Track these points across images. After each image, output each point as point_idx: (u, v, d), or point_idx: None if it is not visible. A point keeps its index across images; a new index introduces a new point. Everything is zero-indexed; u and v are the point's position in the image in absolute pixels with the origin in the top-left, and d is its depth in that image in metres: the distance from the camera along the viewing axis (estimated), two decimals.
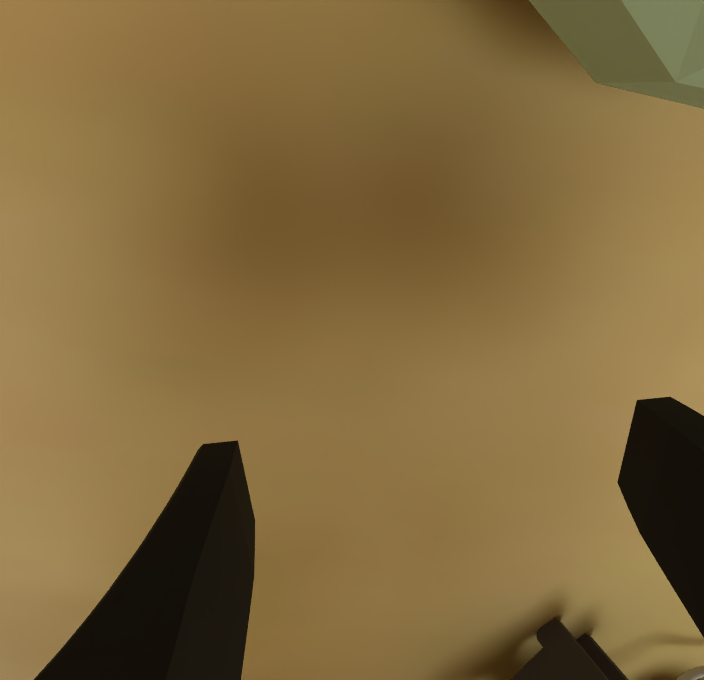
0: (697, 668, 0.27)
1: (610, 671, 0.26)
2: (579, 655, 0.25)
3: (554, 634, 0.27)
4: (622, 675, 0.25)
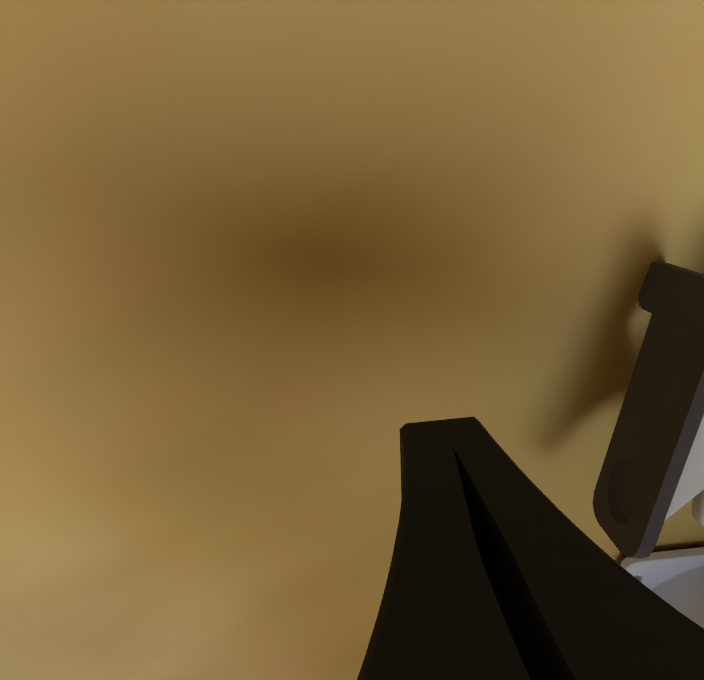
0: None
1: None
2: (701, 288, 0.14)
3: (659, 285, 0.16)
4: None
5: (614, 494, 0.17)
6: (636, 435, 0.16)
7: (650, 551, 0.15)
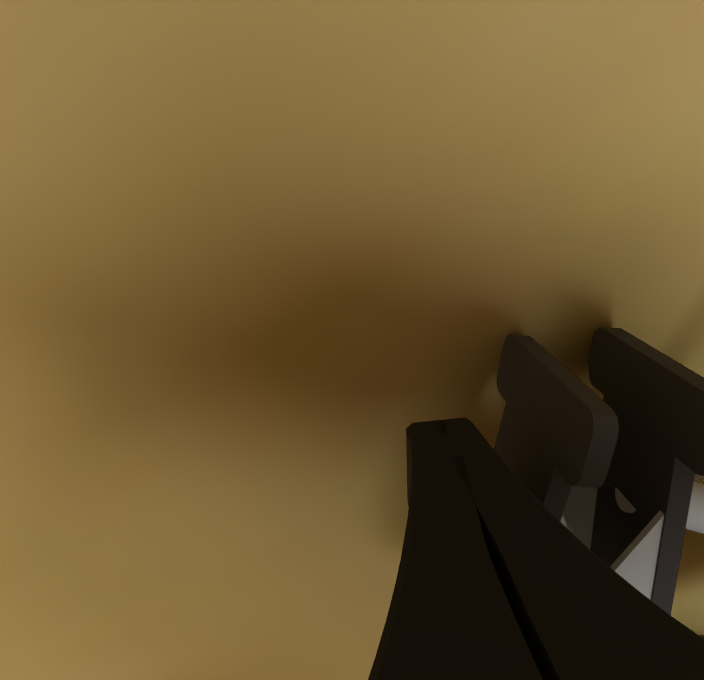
0: None
1: (655, 377, 0.10)
2: (547, 384, 0.10)
3: (514, 366, 0.12)
4: (678, 373, 0.10)
5: None
6: None
7: None
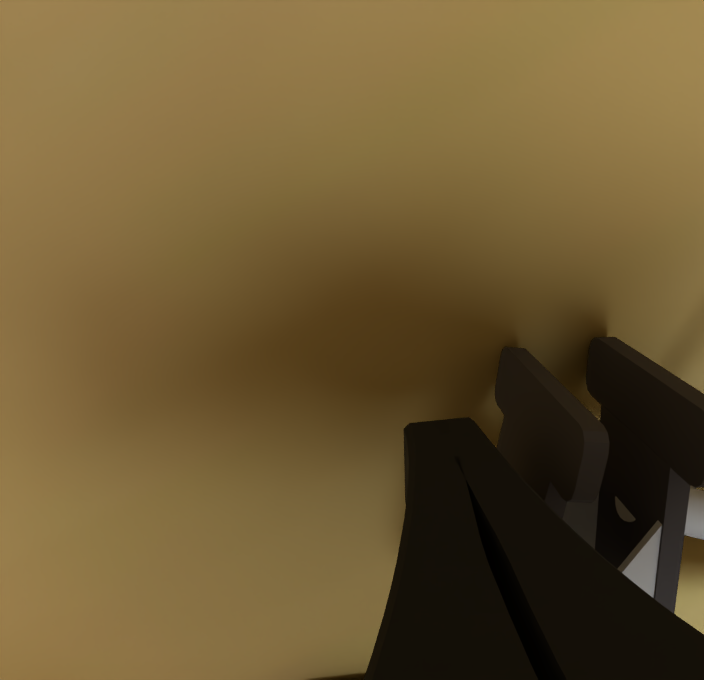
0: None
1: (648, 389, 0.11)
2: (540, 399, 0.10)
3: (510, 379, 0.12)
4: (670, 384, 0.10)
5: None
6: None
7: None
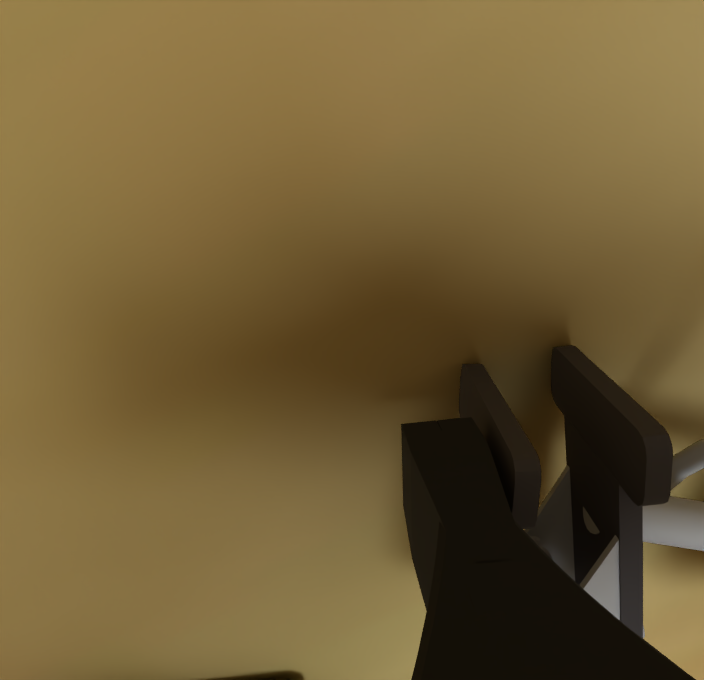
0: None
1: (597, 403, 0.10)
2: (487, 422, 0.10)
3: (467, 398, 0.12)
4: (614, 400, 0.10)
5: None
6: None
7: None
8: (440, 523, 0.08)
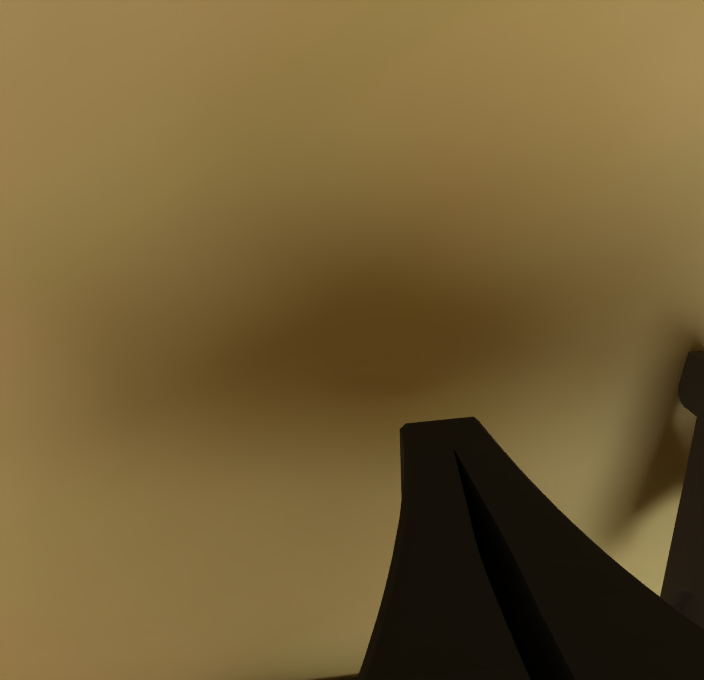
0: None
1: None
2: None
3: (701, 383, 0.13)
4: None
5: None
6: (697, 567, 0.13)
7: None
8: (398, 528, 0.08)
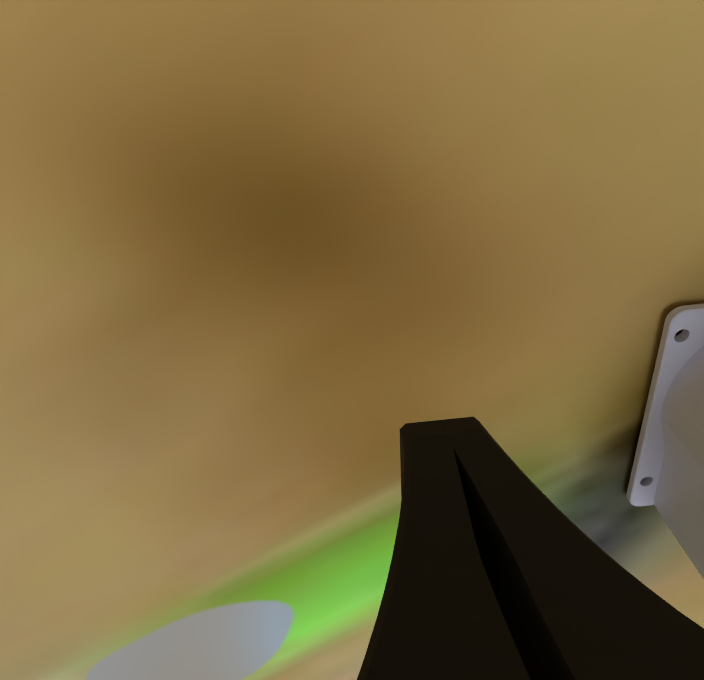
0: None
1: None
2: None
3: None
4: None
5: None
6: None
7: None
8: (398, 527, 0.08)
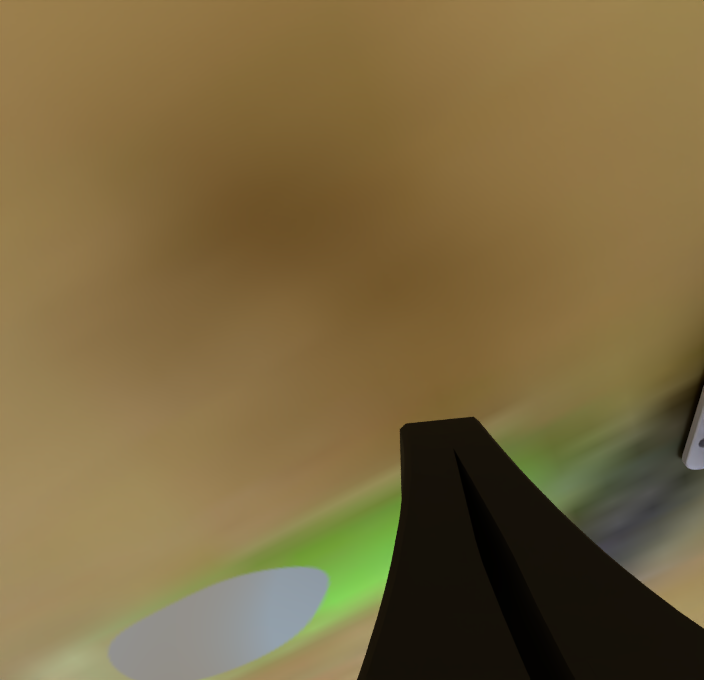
0: None
1: None
2: None
3: None
4: None
5: None
6: None
7: None
8: (398, 527, 0.08)
